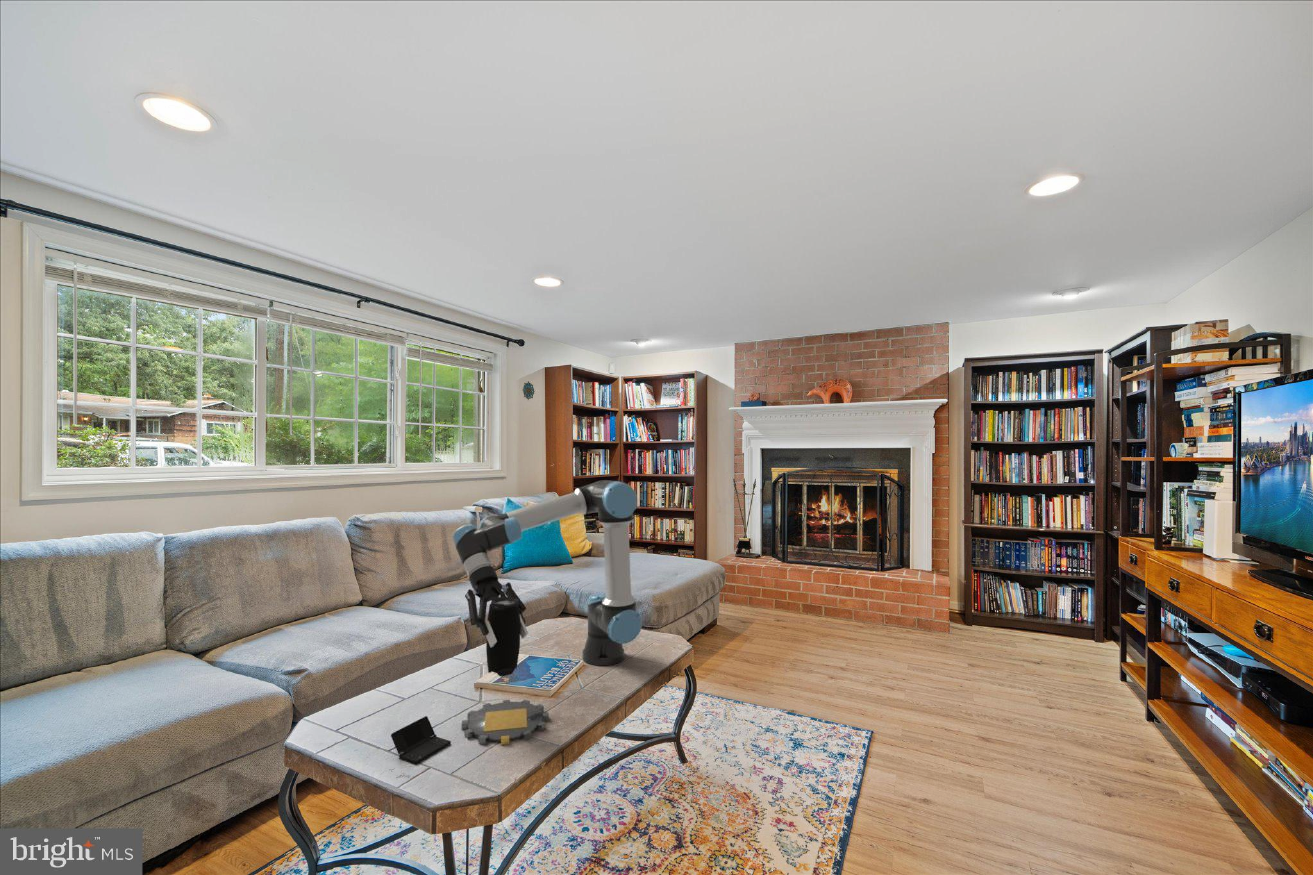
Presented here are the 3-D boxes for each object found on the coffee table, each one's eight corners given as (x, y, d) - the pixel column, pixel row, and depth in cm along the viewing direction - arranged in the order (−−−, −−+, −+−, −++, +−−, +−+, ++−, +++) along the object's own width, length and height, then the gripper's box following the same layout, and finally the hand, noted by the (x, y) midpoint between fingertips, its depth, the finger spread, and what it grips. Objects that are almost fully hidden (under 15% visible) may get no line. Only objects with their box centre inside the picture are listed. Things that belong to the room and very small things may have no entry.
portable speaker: (524, 667, 161) (527, 598, 161) (505, 679, 152) (507, 606, 152) (499, 662, 164) (501, 594, 164) (478, 674, 155) (481, 602, 155)
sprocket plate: (465, 708, 165) (465, 702, 165) (546, 701, 170) (546, 695, 170) (457, 749, 142) (457, 742, 142) (550, 739, 148) (550, 732, 148)
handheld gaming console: (424, 759, 135) (407, 720, 138) (402, 775, 136) (386, 735, 139) (455, 743, 146) (438, 707, 149) (434, 757, 147) (418, 721, 150)
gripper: (508, 574, 177) (537, 638, 166) (440, 585, 161) (467, 657, 150) (518, 559, 173) (548, 623, 162) (450, 570, 157) (479, 642, 146)
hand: (509, 640), depth 156 cm, fingers closed on portable speaker, 9 cm apart
